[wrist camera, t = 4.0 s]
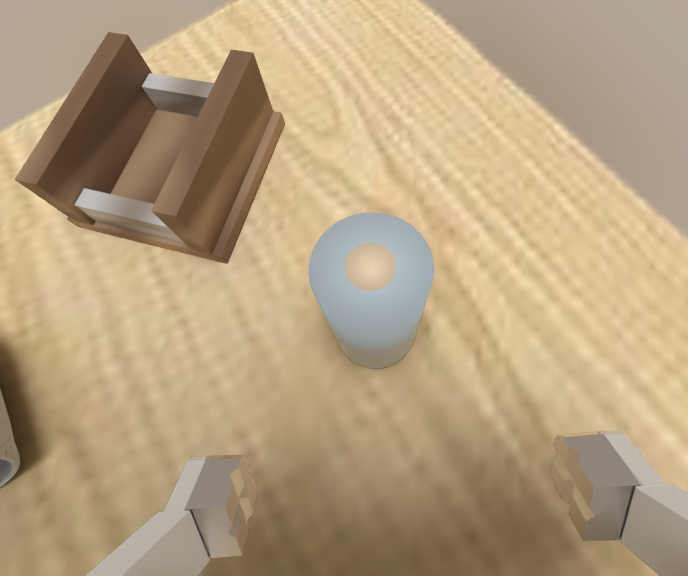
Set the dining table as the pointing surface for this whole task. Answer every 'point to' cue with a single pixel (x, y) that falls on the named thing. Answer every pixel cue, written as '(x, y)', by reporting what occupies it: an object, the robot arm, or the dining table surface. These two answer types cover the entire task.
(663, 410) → the dining table surface
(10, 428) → the ceramic mug
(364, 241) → the paper roll
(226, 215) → the holder
